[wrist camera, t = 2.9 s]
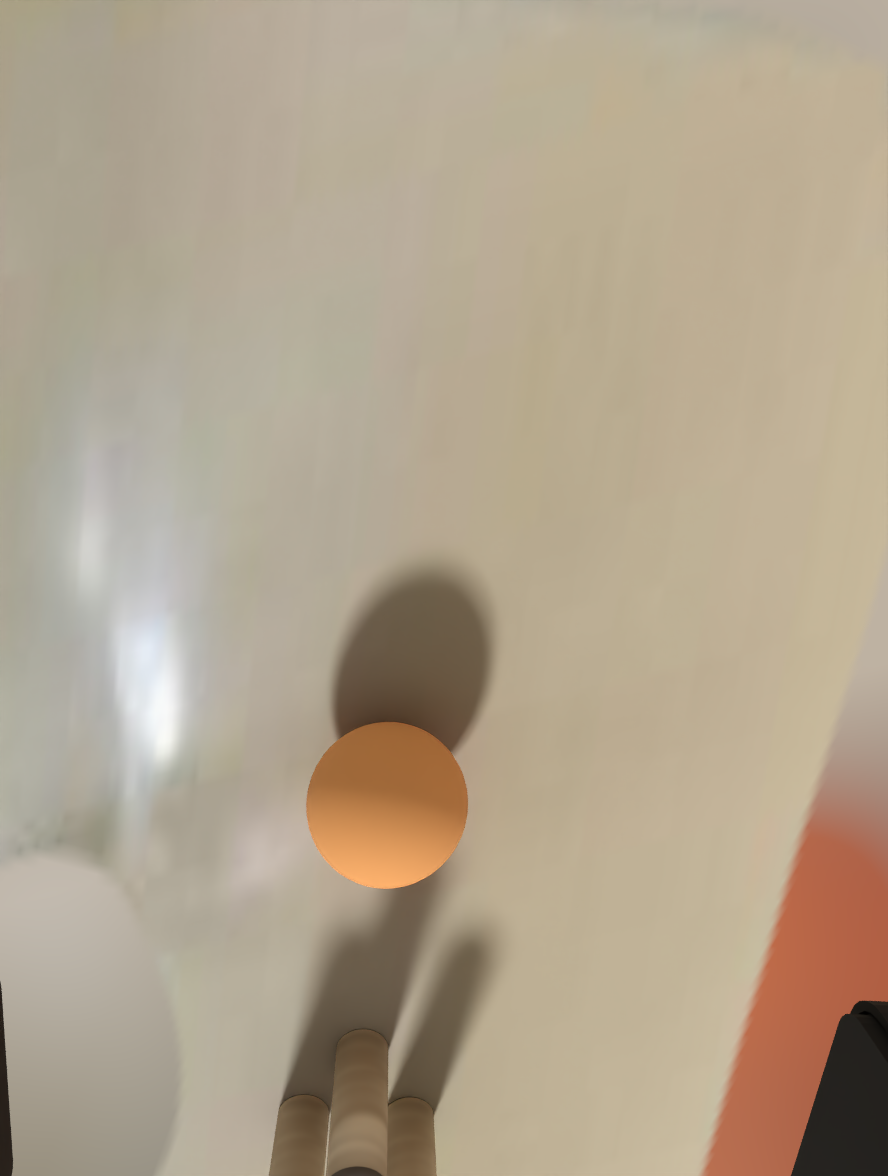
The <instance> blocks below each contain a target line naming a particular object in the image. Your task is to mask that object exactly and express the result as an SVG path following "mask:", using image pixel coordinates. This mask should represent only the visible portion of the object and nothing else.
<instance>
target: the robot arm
mask: <svg viewBox="0 0 888 1176" xmlns="http://www.w3.org/2000/svg"><path fill="white" fill-rule="evenodd" d="M12 1169H13V1156H12V1140H11V1126H10V1112H9V1096H8V1082H7V1066H6V1051H5V1038H4V1021H3V1006H2V991H1V983H0V1176H11V1175H12ZM791 1176H888V1002H881V1001H859V1002H858V1003H856V1004H855V1005H854V1007H853V1009H852V1011H851V1013H850V1014H845V1015H844V1016H842V1018H841V1019H840V1021H839V1024H838V1027H837V1030H836V1034H835V1037H834V1040H833V1043H832V1046H831V1050H830V1053H829V1056H828V1059H827V1063H826V1066H825V1069H824V1072H823V1075H822V1078H821V1082H820V1085H819V1088H818V1091H817V1094H816V1098H815V1101H814V1104H813V1107H812V1110H811V1114H810V1117H809V1120H808V1123H807V1126H806V1130H805V1133H804V1136H803V1139H802V1142H801V1146H800V1149H799V1152H798V1156H797V1159H796V1162H795V1165H794V1168H793V1171H792V1174H791Z"/></svg>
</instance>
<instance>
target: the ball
mask: <svg viewBox="0 0 888 1176" xmlns="http://www.w3.org/2000/svg"><path fill="white" fill-rule="evenodd" d="M306 807H307V819H308V825H309V829H310V833H311V836H312V838H313V840H314V843H315V845H316V847H317V849H318V850H319V852H320V853H321V855H322V856H323V858H324V859H325V860H326V861H327V862H328V863H329V864H330V865H331V867H332V868H334V869H335V870H336V871H337V872H338V873H340V874H341V875H343V876H344V877H346V878H348V879H350V880H352V881H354V882H356V883H358V884H361V885H364V886H368V887H373V888H382V889H387V888H399V887H403V886H408V885H410V884H413V883H416V882H418V881H420V880H422V879H424V878H426V877H427V876H429V875H431V874H432V873H434V872H435V871H436V870H437V869H439V868H440V867H441V866H442V865H443V864H444V863H445V861H446V860H447V859H448V858H449V857H450V856H451V854H452V853H453V851H454V850H455V848H456V846H457V844H458V843H459V841H460V838H461V836H462V834H463V831H464V828H465V823H466V818H467V812H468V796H467V788H466V784H465V780H464V777H463V774H462V771H461V769H460V767H459V765H458V763H457V762H456V760H455V758H454V757H453V755H452V754H451V752H450V751H449V750H448V749H447V747H446V746H445V745H443V744H442V743H441V742H440V741H439V740H438V739H437V738H435V737H434V736H433V735H431V734H430V733H428V732H426V731H424V730H423V729H420V728H418V727H415V726H413V725H409V724H405V723H398V722H379V723H373V724H369V725H365V726H362V727H359V728H356V729H355V730H353V731H351V732H349V733H347V734H346V735H344V736H343V737H341V738H340V739H339V740H337V741H336V742H335V743H334V744H333V745H332V746H331V747H330V748H329V749H328V750H327V751H326V752H325V754H324V755H323V757H322V758H321V760H320V761H319V763H318V764H317V766H316V768H315V770H314V772H313V775H312V778H311V781H310V784H309V788H308V794H307V804H306Z"/></svg>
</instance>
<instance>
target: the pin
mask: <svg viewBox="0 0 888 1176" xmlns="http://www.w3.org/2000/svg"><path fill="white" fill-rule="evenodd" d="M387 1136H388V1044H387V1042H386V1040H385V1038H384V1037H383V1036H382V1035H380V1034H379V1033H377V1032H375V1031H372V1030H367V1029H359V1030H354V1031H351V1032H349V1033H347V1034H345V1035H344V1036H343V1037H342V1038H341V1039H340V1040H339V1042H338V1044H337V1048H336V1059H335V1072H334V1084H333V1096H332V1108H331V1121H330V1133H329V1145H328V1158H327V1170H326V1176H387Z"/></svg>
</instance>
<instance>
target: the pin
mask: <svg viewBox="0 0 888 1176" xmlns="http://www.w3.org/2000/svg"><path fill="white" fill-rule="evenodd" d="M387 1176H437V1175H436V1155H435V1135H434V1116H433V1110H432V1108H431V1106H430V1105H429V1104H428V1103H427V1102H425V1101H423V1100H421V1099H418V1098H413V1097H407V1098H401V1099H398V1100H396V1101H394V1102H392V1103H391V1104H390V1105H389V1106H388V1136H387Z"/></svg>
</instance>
